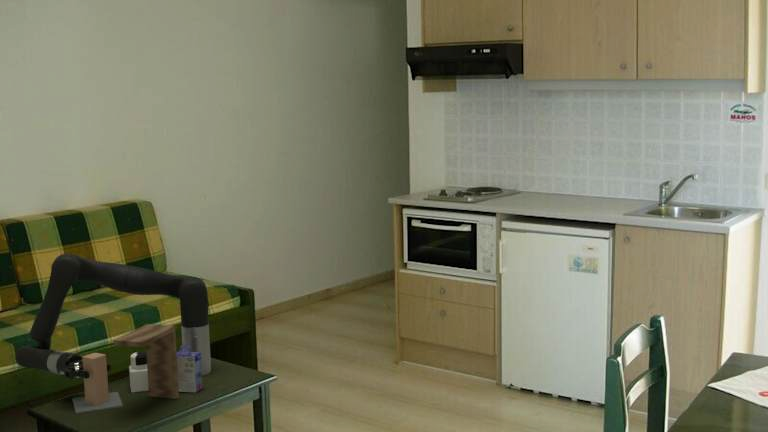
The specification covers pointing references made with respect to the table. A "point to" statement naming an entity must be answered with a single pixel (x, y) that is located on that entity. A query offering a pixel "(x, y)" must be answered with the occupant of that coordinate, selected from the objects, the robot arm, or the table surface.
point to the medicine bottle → (138, 372)
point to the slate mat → (85, 407)
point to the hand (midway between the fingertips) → (99, 371)
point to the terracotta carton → (96, 379)
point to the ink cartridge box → (189, 370)
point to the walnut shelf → (157, 357)
